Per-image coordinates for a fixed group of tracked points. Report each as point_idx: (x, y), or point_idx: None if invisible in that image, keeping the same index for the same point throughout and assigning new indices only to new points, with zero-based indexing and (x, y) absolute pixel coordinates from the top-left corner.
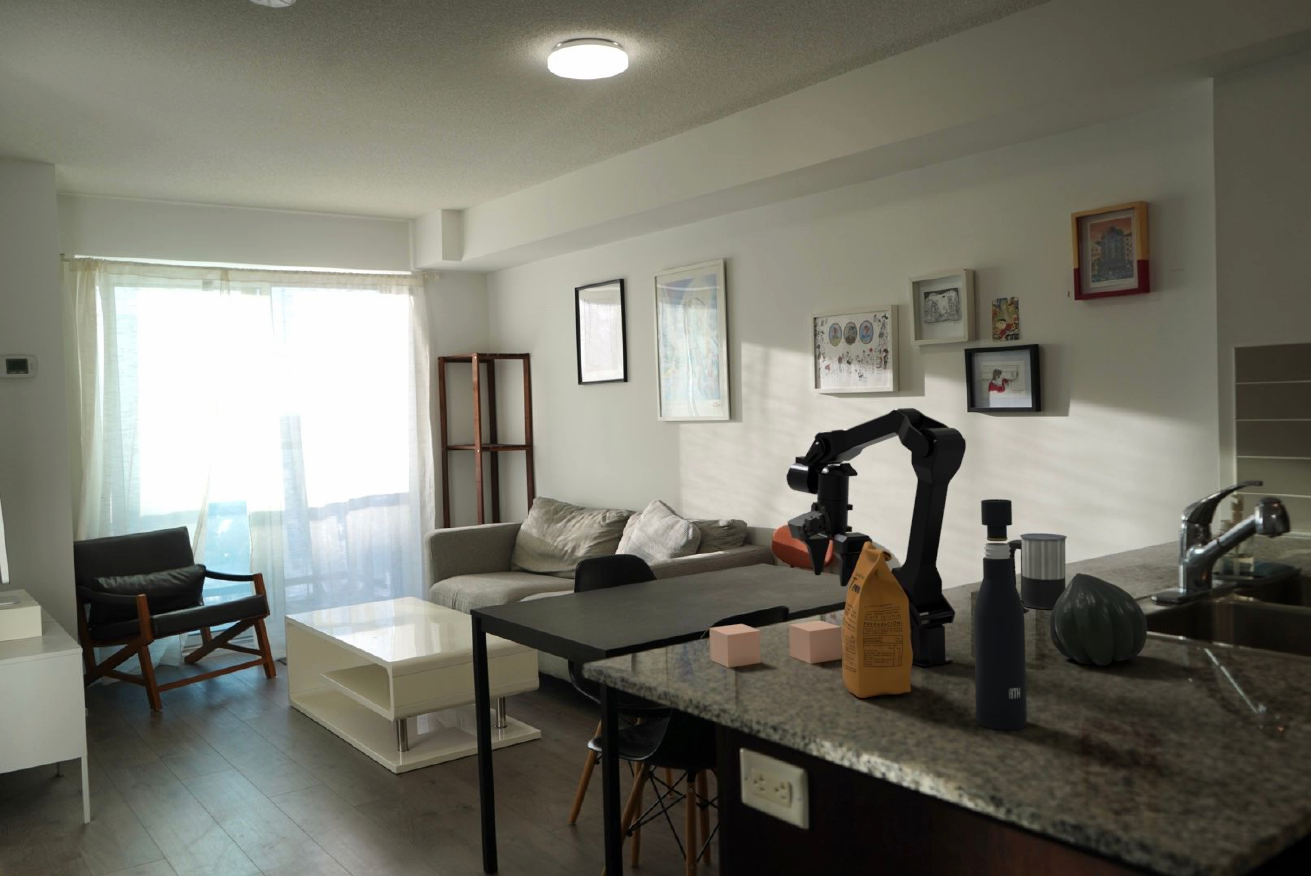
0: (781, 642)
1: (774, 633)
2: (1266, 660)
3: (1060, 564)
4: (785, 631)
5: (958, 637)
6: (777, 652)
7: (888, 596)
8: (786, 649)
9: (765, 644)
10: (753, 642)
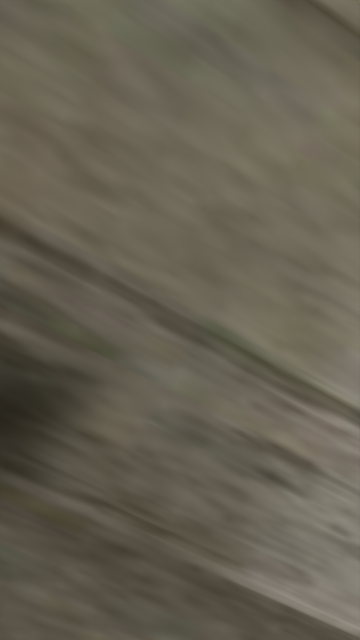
0: (176, 148)
1: (311, 199)
2: None
3: None
4: (316, 250)
5: (4, 633)
6: (30, 40)
7: None
8: (64, 103)
9: (175, 71)
10: None
